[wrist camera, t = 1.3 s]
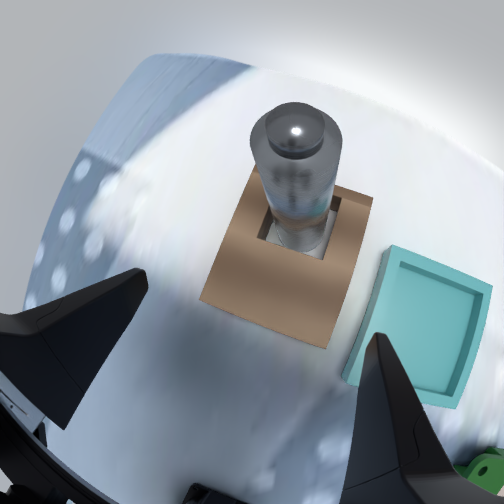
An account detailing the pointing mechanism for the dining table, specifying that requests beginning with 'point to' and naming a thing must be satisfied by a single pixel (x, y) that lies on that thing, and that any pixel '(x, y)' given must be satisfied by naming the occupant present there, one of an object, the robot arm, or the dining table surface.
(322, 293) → the socket block
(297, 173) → the grey capped bottle
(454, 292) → the tray
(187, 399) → the dining table surface
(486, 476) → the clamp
